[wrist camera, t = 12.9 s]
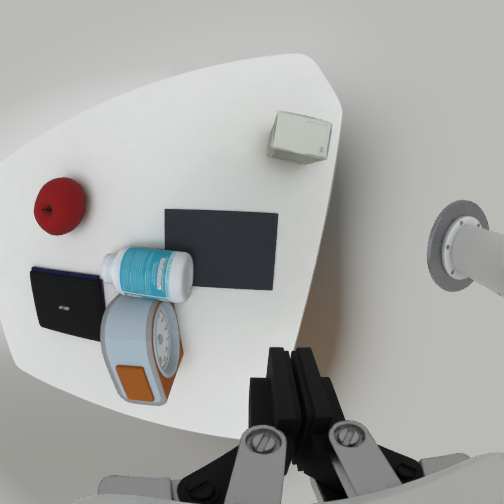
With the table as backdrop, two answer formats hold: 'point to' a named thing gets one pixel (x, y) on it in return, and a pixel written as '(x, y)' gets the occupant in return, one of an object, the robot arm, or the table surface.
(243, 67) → the table surface
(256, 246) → the mat
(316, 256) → the table surface
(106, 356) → the alarm clock
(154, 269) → the pill bottle
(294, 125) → the cosmetic box
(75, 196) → the apple
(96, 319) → the laptop
